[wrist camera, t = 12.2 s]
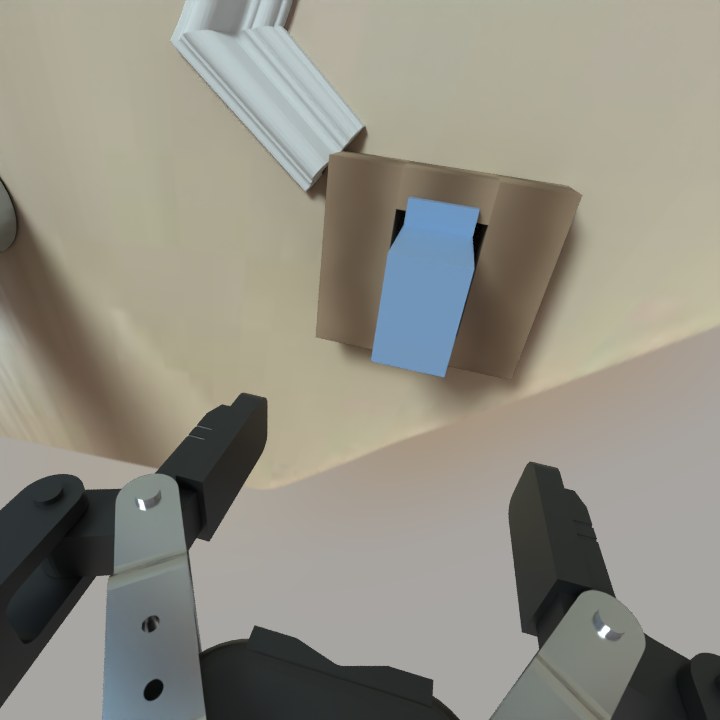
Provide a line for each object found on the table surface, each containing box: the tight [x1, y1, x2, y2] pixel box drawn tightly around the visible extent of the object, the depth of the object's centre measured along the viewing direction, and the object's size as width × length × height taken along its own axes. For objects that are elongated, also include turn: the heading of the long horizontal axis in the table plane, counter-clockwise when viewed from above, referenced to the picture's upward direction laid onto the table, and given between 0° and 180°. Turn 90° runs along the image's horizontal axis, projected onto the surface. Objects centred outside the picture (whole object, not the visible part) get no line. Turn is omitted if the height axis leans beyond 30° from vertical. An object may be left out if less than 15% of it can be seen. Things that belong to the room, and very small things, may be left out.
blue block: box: [371, 197, 480, 377], centre depth 25 cm, size 4×9×10 cm, turn 173°
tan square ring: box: [316, 151, 582, 380], centre depth 27 cm, size 14×12×4 cm
